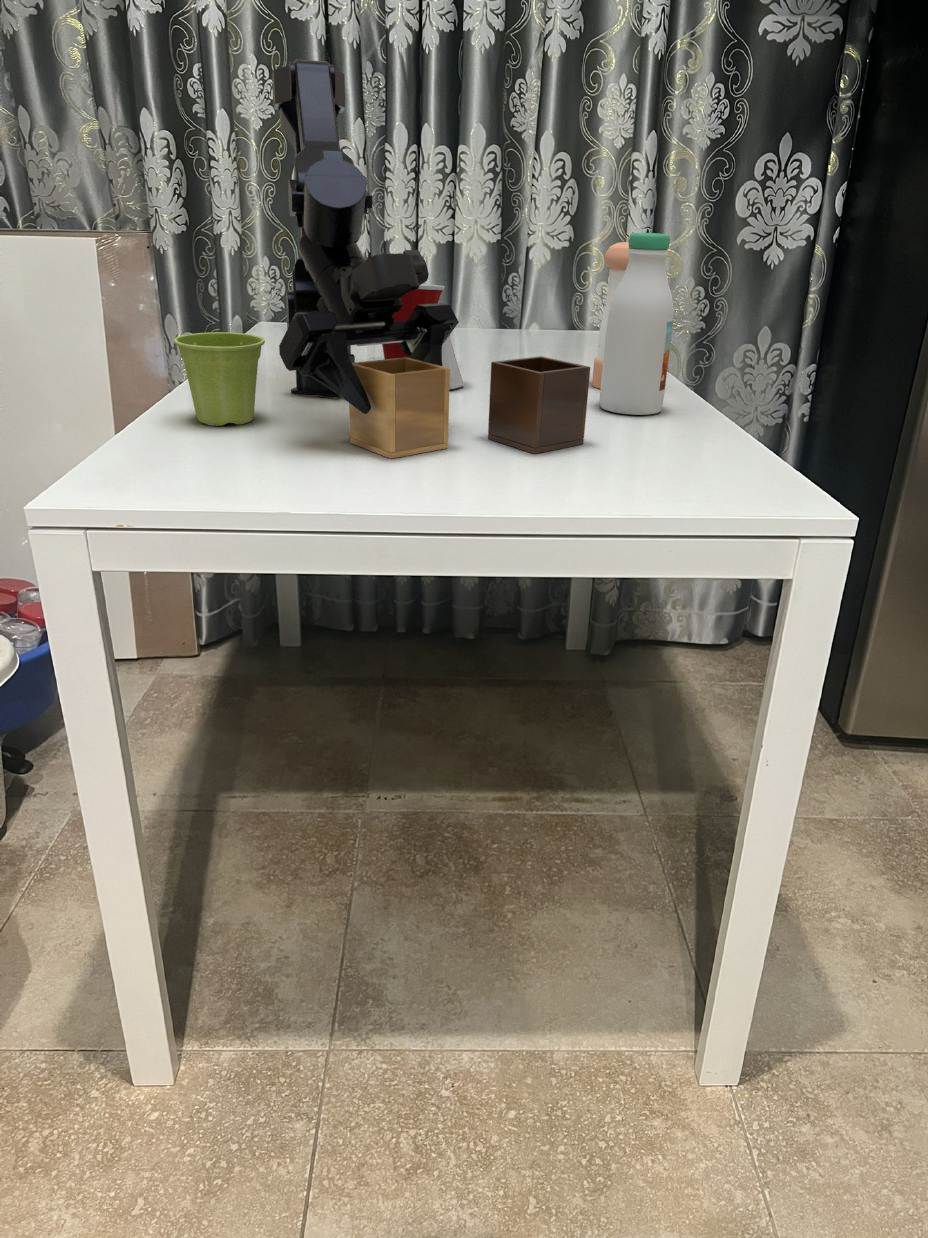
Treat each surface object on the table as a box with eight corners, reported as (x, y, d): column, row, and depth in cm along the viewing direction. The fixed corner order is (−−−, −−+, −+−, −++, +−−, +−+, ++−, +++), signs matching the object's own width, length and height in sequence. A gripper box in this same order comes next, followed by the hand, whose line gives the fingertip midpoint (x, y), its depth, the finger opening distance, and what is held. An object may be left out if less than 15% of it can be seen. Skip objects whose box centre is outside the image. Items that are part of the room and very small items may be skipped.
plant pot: (285, 415, 103) (280, 336, 99) (240, 434, 95) (234, 348, 91) (213, 407, 105) (206, 329, 102) (164, 424, 97) (154, 340, 93)
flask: (458, 392, 117) (460, 311, 113) (404, 388, 118) (404, 308, 114) (469, 382, 124) (472, 305, 119) (417, 378, 125) (418, 302, 120)
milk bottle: (648, 419, 107) (670, 235, 98) (588, 409, 110) (605, 231, 102) (671, 408, 113) (694, 234, 104) (613, 399, 116) (631, 230, 108)
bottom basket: (487, 438, 96) (491, 361, 93) (536, 429, 101) (541, 355, 97) (534, 454, 91) (540, 373, 88) (583, 444, 96) (590, 366, 92)
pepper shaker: (609, 392, 120) (625, 236, 112) (582, 382, 126) (595, 233, 118) (655, 390, 123) (674, 237, 115) (626, 379, 129) (642, 233, 121)
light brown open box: (349, 442, 93) (347, 363, 90) (405, 433, 97) (406, 356, 94) (390, 458, 88) (390, 375, 85) (448, 448, 92) (450, 368, 89)
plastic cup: (457, 366, 134) (460, 280, 129) (415, 377, 126) (416, 285, 120) (398, 358, 139) (398, 274, 134) (354, 367, 131) (352, 279, 126)
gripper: (287, 218, 81) (359, 364, 78) (449, 219, 92) (517, 347, 89) (251, 301, 90) (314, 435, 87) (403, 293, 101) (463, 412, 98)
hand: (406, 405), depth 90 cm, fingers open, 9 cm apart
